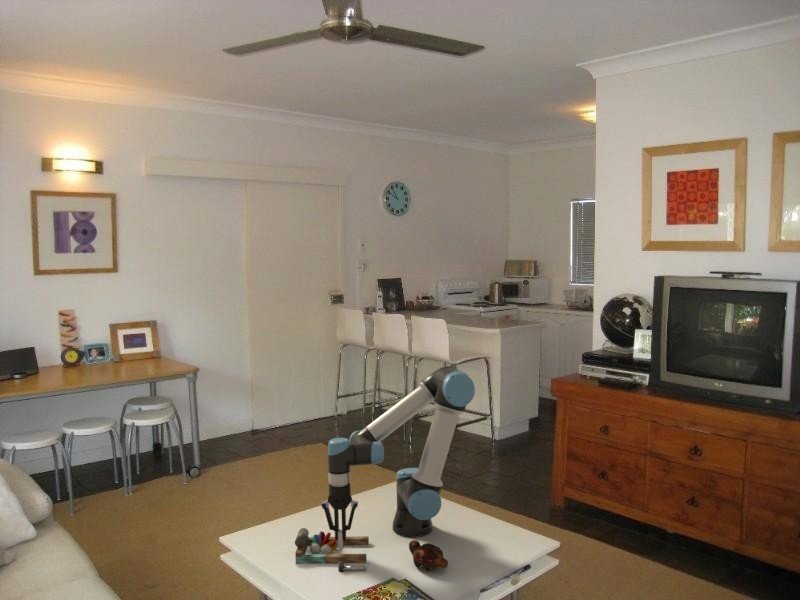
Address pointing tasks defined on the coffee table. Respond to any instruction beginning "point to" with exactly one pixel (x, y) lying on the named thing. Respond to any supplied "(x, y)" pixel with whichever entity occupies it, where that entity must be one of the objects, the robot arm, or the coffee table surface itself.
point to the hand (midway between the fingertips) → (340, 548)
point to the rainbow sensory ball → (323, 544)
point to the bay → (303, 558)
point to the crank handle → (350, 567)
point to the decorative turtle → (427, 555)
